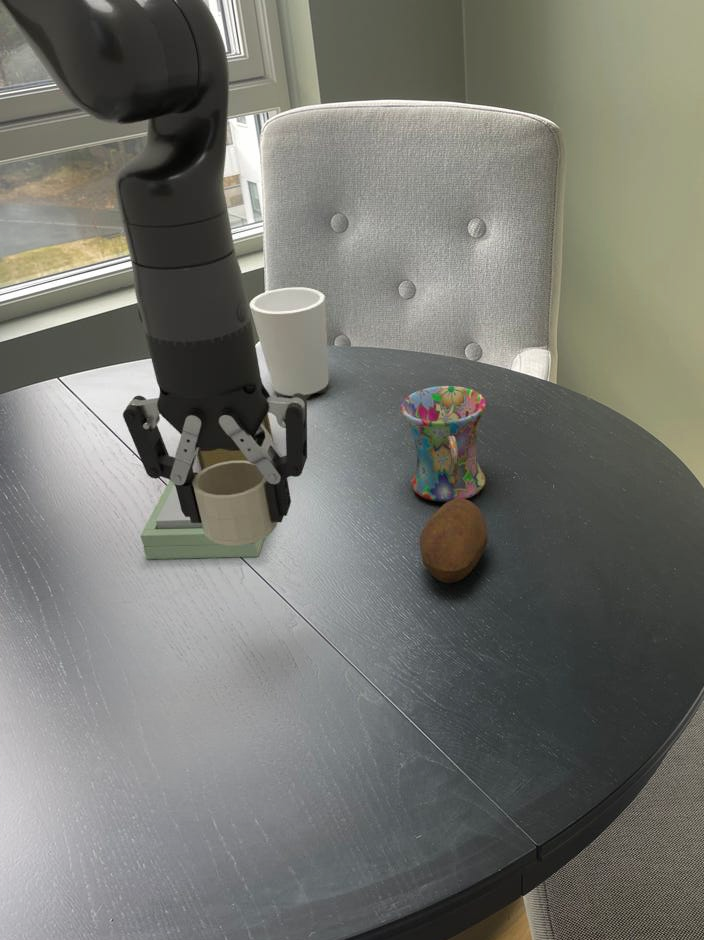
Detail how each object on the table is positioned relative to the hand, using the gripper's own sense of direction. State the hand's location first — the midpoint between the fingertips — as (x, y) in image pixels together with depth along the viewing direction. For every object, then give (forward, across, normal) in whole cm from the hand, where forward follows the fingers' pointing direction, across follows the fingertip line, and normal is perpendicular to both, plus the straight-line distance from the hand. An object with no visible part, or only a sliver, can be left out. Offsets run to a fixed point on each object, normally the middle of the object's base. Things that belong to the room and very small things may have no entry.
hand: (238, 517), depth 80 cm
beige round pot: (+1, 0, 0) cm, 1 cm away
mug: (+15, -16, -29) cm, 36 cm away
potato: (+15, -17, -14) cm, 26 cm away
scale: (+15, +10, -23) cm, 29 cm away
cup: (+15, +7, -59) cm, 61 cm away
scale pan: (+13, +10, -23) cm, 28 cm away
